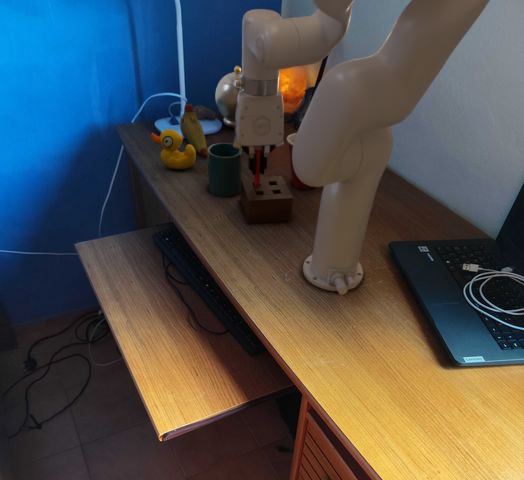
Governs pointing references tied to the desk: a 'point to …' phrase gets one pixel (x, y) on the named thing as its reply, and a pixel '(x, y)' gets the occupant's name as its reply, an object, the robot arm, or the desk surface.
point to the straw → (257, 167)
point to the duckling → (174, 150)
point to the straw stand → (266, 200)
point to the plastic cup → (295, 179)
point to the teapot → (228, 96)
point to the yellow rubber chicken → (193, 130)
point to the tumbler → (224, 169)
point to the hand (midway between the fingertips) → (257, 171)
